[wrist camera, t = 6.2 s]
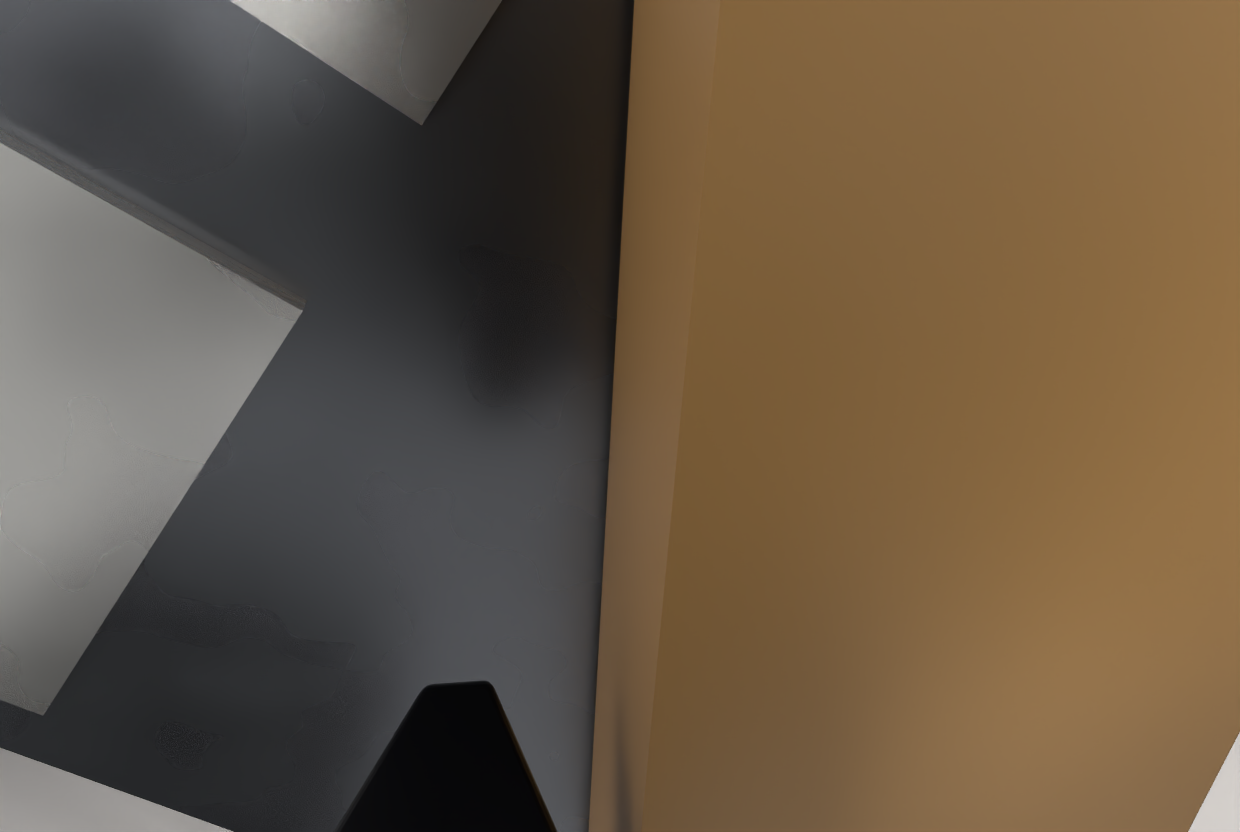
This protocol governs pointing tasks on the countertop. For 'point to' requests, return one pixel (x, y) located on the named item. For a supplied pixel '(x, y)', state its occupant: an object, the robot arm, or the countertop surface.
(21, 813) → the countertop surface
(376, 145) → the label panel
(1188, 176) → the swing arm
